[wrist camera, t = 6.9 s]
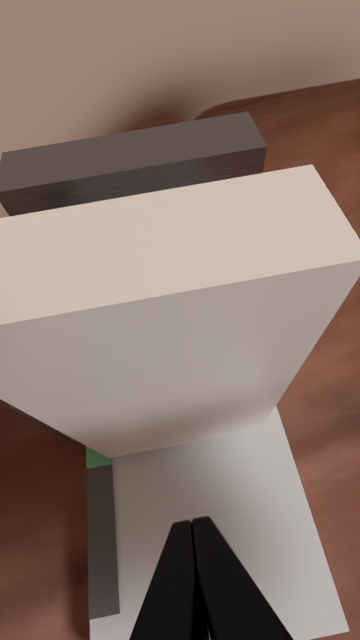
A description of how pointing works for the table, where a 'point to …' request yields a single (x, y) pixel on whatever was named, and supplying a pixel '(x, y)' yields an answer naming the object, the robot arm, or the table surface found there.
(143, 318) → the cream upright slab
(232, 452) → the base
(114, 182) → the brushed steel plate
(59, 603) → the table surface
